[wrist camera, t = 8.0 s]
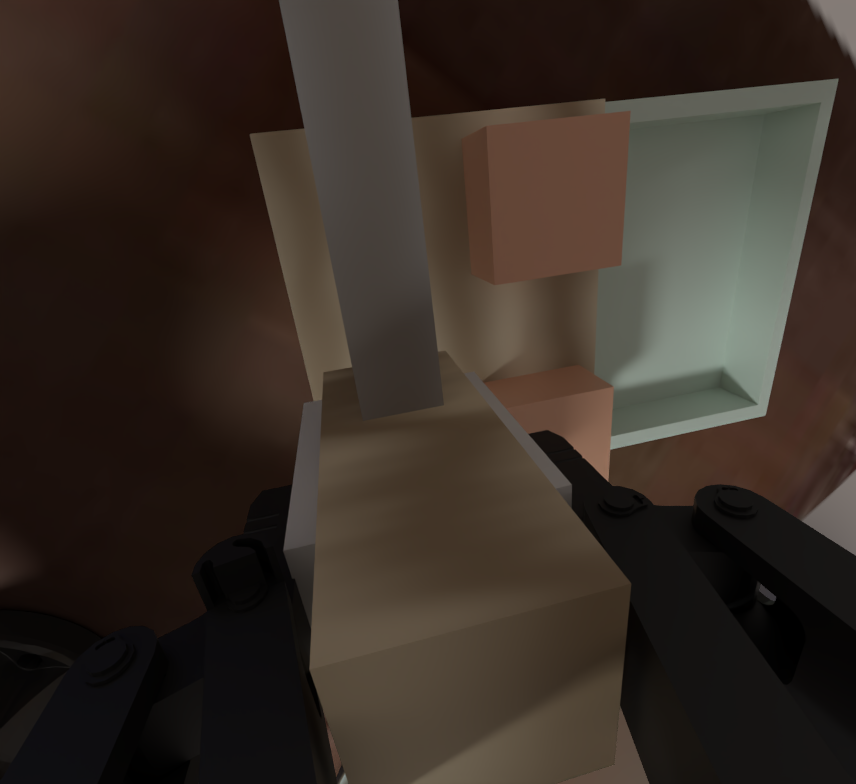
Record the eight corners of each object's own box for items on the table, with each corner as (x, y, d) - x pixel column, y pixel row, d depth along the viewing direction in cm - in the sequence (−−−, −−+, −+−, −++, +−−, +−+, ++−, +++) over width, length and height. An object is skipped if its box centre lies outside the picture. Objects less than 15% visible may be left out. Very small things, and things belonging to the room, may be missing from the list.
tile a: (485, 473, 27) (506, 508, 24) (479, 383, 25) (501, 409, 22) (576, 453, 28) (607, 484, 25) (578, 364, 26) (614, 386, 22)
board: (340, 473, 31) (342, 518, 26) (265, 148, 23) (249, 133, 18) (554, 428, 33) (590, 463, 29) (555, 118, 25) (605, 98, 20)
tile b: (471, 274, 22) (494, 285, 19) (461, 138, 20) (486, 126, 17) (581, 257, 23) (621, 265, 20) (584, 125, 21) (630, 110, 18)
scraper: (382, 632, 19) (430, 1022, 10) (254, 69, 11) (-137, -629, 2) (472, 609, 19) (596, 958, 10) (413, 55, 11) (736, -533, 2)
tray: (554, 428, 33) (582, 455, 29) (555, 118, 25) (593, 103, 21) (720, 394, 35) (765, 415, 31) (770, 95, 27) (838, 78, 23)
